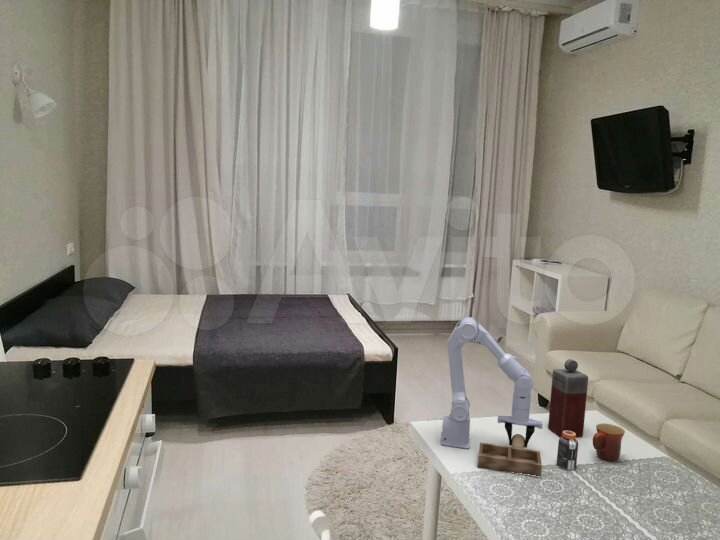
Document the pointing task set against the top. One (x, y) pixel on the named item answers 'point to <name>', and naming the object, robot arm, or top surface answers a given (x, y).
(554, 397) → the red grey square bottle
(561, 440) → the pill bottle
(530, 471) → the walnut holder
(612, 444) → the mug
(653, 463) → the top surface
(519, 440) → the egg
